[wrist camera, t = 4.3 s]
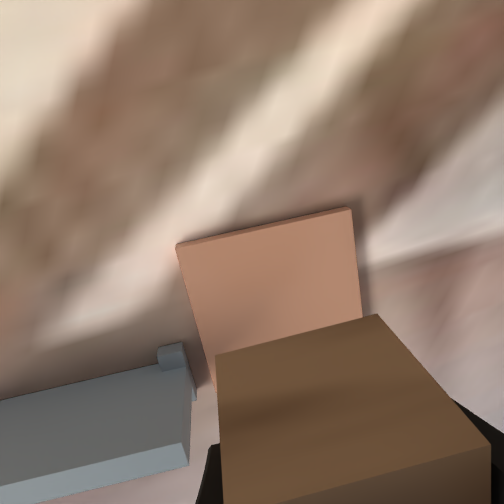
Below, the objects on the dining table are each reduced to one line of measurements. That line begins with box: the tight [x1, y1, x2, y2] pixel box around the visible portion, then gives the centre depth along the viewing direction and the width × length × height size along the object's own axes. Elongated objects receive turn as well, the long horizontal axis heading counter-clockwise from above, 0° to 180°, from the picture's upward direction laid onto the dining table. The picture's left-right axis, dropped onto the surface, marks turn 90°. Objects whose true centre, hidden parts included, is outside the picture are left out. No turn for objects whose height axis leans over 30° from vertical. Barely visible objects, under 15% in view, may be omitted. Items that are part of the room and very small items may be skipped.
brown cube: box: [215, 314, 491, 504], centre depth 10 cm, size 5×5×5 cm
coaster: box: [175, 206, 363, 393], centre depth 19 cm, size 8×8×1 cm
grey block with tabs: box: [0, 342, 197, 504], centre depth 17 cm, size 3×12×6 cm, turn 101°
